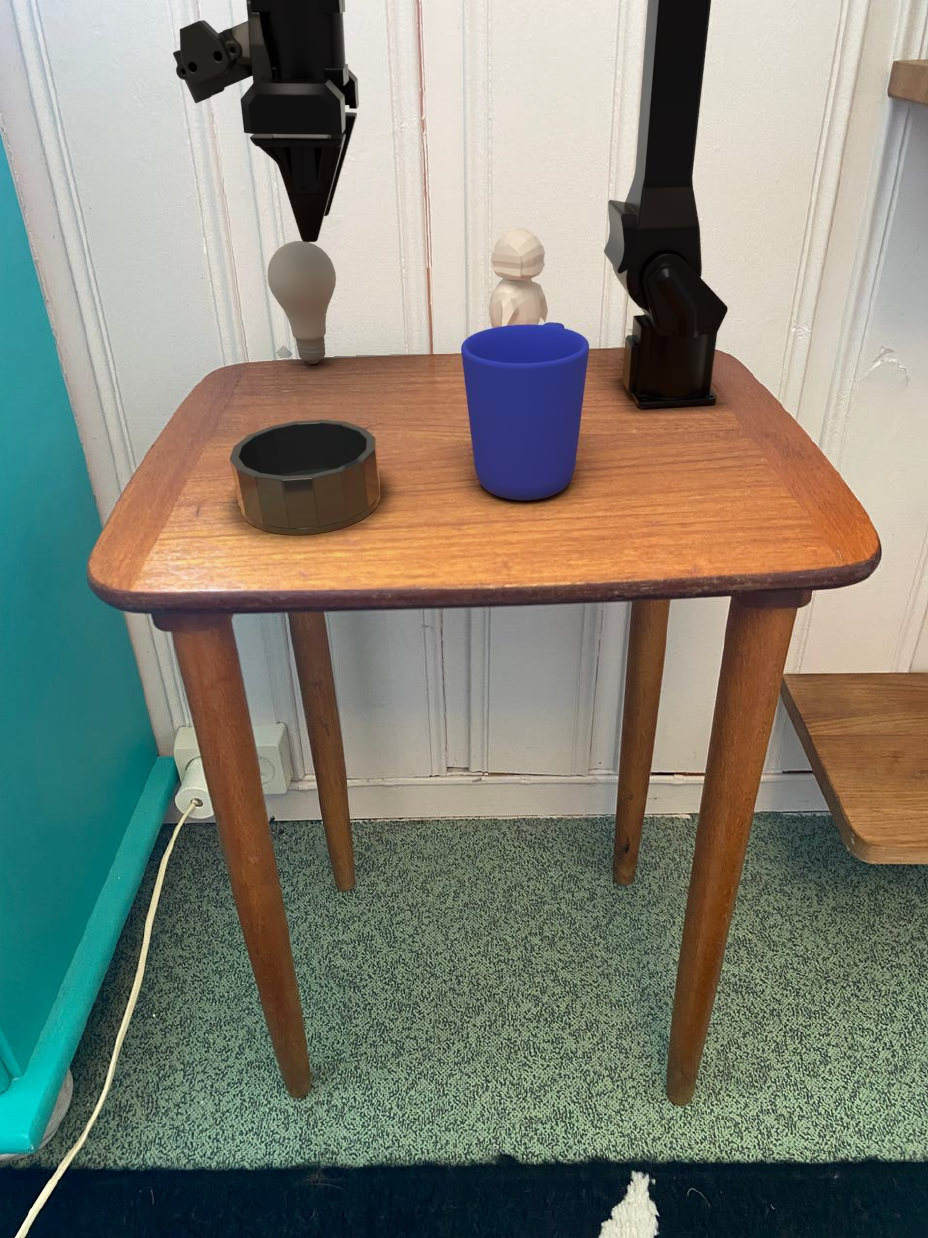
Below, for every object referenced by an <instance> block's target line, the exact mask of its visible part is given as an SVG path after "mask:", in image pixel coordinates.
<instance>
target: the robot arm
mask: <svg viewBox="0 0 928 1238" xmlns="http://www.w3.org/2000/svg"><path fill="white" fill-rule="evenodd" d="M245 1H246V14H247V20H246V21H244V22H241V23H239V24H237V25H234V26H232V27H230V28H226V29H224V30H222V31H219V32H218V31H216V30H215V28H213V27H212V26H211V25H210V24H209V23H208V21H206V20H204V19H203V20H198V21H195V22H193V23H191V24H188V25H186V26H184V27H182V28H180V29H179V49H178V50H176V51H173V52H172V56H173V58H174V60H175V62H176V68H175V73H176V75H177V77H178V78H179V79H181V80H183V81H184V82H185V85H186V86H187V89H188V91H189V93H190V95H191V98H192V100H193V102H194V103H195V104H199V103H200V102H203V101H206V100H208V99H211V98H212V97H213V96H216V95H218V94H221V93H222V92H224V91H225V89H226V88H227V87H229V86H232V85H235V84H236V83H239V82H241V81H244V80H246V79H248V78H251V77H252V84H251V85H250V87H248V88H247V90H246V91H245V93H244V94H243V95H242V97H241V98H240V109H241V118H242V126H243V133H244V134H248V135H249V134H250V136H249V139H250V142H251V143H252V144H253V145H254V146H255V147H258V148H260V149H261V150H262V151H263V152H264V153H265V154H266V155H267V156H269V157H270V158H271V160H273V161H274V162H275V163H276V165H277V166H278V167H277V168H278V170H279V172H280V176H281V179H282V182H283V184H284V188H285V191H286V195H287V198H288V201H289V204H290V208H291V211H292V214H293V217H294V220H295V224H296V226H297V231H298V234H299V237H300V239H301V240H300V241H303V242H310V243H316V242H317V241H318V240H319V237H320V233H321V229H322V226H323V221H324V218H325V217H327V216H329V214H330V211H331V208H332V205H333V201H334V197H335V195H336V190H337V188H338V184H339V180H340V177H341V173H342V170H343V167H344V162H345V160H346V155H347V152H348V149H349V145H350V141H351V138H352V134H353V132H354V131H353V130H354V128H355V125H356V121H357V117H358V113H357V112H355V111H354V112H353V111H346V106H348V109H349V110H357V109H358V108H359V106H360V101H359V97H360V96H359V79H358V77H357V76H356V75H355V74H354V73H353V72H352V71H351V69H350V68H349V64H348V63H347V62H346V45H345V43H346V42H345V28H344V27H345V25H344V24H345V23H344V13H345V12H346V0H245ZM711 7H712V0H647V7H646V8H647V10H646V21H645V22H646V23H645V35H644V36H645V37H644V49H643V62H642V63H643V64H642V75H641V76H642V77H641V89H640V102H639V116H638V128H637V129H638V131H637V142H636V143H637V145H636V155H635V169H634V174H633V179H632V182H631V184H630V188H629V189H628V193H627V195H626V199H625V201H621V200H615V199H609V200H608V201H607V212H608V213H607V214H608V222H609V234H608V239H607V241H606V244H605V247H604V249H603V254H604V255H605V257H606V258H607V259H608V261H609V262H610V264H611V265H612V270H613V272H614V275H615V276H616V279H617V280H618V281H619V283H620V284H621V286H622V287H623V290H625V292H626V293H627V295H628V296H629V298H630V299H631V300H632V301H633V302H634V304H636V305H637V307H638V308H639V309H641V310H642V313H643V314H637V315H636V314H635V315H633V317H632V328H631V329H632V330H631V334H627V335H626V336H625V338H624V351H623V367H622V384H623V385H624V388H625V389H626V391H627V392H628V394H629V395H631V397H632V399H633V401H634V403H635V404H636V406H637V407H638V408H643V409H644V408H662V407H678V406H694V405H710V404H712V405H713V404H716V403H717V395H716V394H715V392H714V391H713V389H711V388H712V380H713V373H714V365H715V355H716V346H717V341H718V340H717V339H718V332H719V330H720V328H721V326H722V324H723V321H724V320H725V317H726V315H727V313H728V305H726V303H725V302H724V301H723V300H722V299H721V298H720V296H718V295H717V293H716V292H715V291H714V290H713V289H712V288H711V287H710V286H709V285H708V284H707V283H706V282H705V281H704V279H702V275H703V262H702V245H701V243H702V242H701V228H700V220H699V214H698V208H697V203H696V196H695V190H694V179H693V175H694V165H695V157H696V156H695V155H696V147H697V139H698V128H699V118H700V109H701V99H702V90H703V81H704V74H705V73H704V72H705V62H706V53H707V46H708V45H707V44H708V35H709V25H710V16H711Z"/></svg>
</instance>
